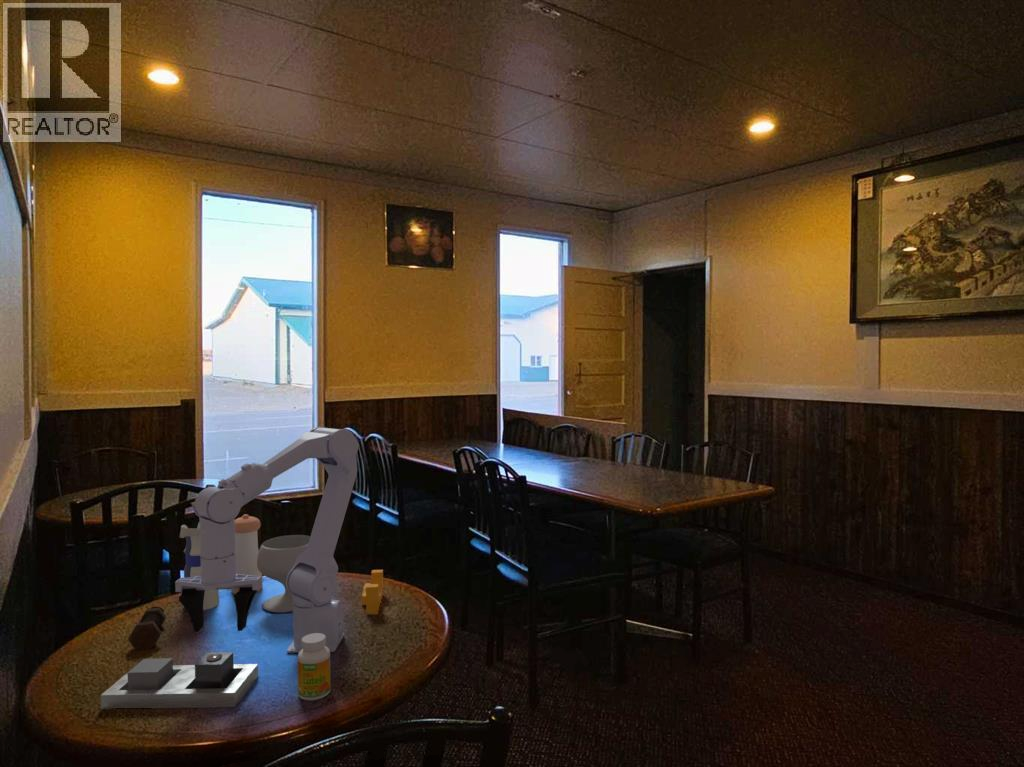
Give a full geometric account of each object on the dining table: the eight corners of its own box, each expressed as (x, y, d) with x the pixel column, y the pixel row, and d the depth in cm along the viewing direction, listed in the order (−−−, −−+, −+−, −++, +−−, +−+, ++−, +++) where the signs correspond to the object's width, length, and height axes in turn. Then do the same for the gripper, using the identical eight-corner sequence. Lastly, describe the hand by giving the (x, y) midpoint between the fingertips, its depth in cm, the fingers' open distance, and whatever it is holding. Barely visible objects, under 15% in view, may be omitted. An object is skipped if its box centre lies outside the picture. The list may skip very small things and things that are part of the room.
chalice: (279, 591, 157) (278, 532, 157) (330, 595, 154) (329, 534, 154) (245, 613, 143) (243, 548, 143) (300, 617, 141) (299, 551, 140)
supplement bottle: (299, 704, 105) (298, 647, 104) (296, 689, 110) (295, 634, 109) (332, 697, 107) (331, 641, 107) (328, 682, 112) (327, 629, 112)
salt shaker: (261, 593, 156) (259, 516, 156) (229, 596, 154) (227, 519, 154) (263, 583, 163) (262, 510, 163) (233, 586, 161) (231, 512, 160)
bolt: (160, 629, 140) (148, 655, 126) (137, 620, 138) (123, 646, 124) (174, 604, 141) (164, 627, 127) (152, 596, 139) (139, 619, 125)
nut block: (234, 685, 111) (233, 650, 111) (221, 699, 107) (220, 662, 106) (208, 685, 111) (208, 650, 111) (195, 699, 107) (194, 662, 107)
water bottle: (173, 607, 147) (170, 501, 147) (208, 596, 154) (206, 495, 154) (191, 615, 143) (189, 506, 142) (227, 603, 150) (224, 499, 149)
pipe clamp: (365, 596, 154) (365, 570, 154) (383, 595, 154) (382, 569, 154) (358, 615, 142) (358, 587, 142) (377, 615, 142) (377, 586, 142)
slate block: (173, 686, 111) (172, 658, 111) (158, 701, 106) (157, 672, 106) (144, 686, 111) (144, 658, 111) (128, 701, 106) (127, 672, 106)
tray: (258, 676, 114) (257, 663, 114) (234, 706, 104) (234, 692, 104) (136, 679, 114) (135, 666, 114) (100, 709, 104) (100, 695, 104)
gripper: (165, 562, 108) (167, 639, 109) (250, 560, 109) (252, 637, 109) (185, 550, 115) (187, 622, 116) (265, 548, 116) (267, 620, 116)
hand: (220, 629), depth 113 cm, fingers open, 7 cm apart
